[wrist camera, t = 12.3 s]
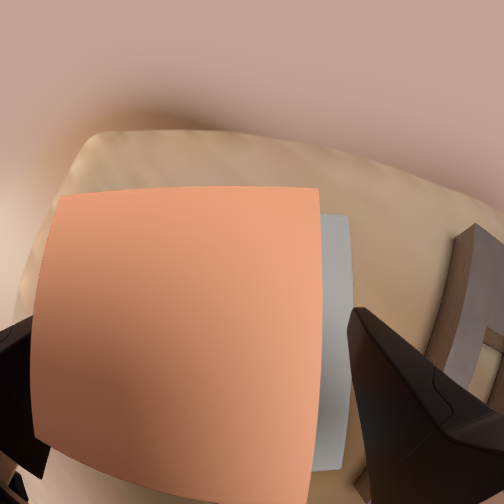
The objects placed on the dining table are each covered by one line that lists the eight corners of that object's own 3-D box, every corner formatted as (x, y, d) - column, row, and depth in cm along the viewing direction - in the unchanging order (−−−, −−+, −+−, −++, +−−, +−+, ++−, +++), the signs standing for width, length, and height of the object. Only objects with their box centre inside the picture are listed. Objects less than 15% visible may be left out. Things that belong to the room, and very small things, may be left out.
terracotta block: (277, 386, 14) (305, 506, 3) (192, 380, 15) (34, 436, 3) (281, 303, 16) (318, 188, 4) (198, 299, 16) (60, 196, 4)
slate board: (338, 465, 13) (341, 468, 12) (131, 445, 14) (127, 447, 13) (345, 219, 18) (347, 215, 18) (151, 215, 19) (148, 211, 19)
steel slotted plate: (455, 495, 10) (472, 506, 7) (353, 485, 12) (366, 504, 9) (528, 293, 15) (548, 285, 12) (454, 238, 17) (475, 222, 14)
